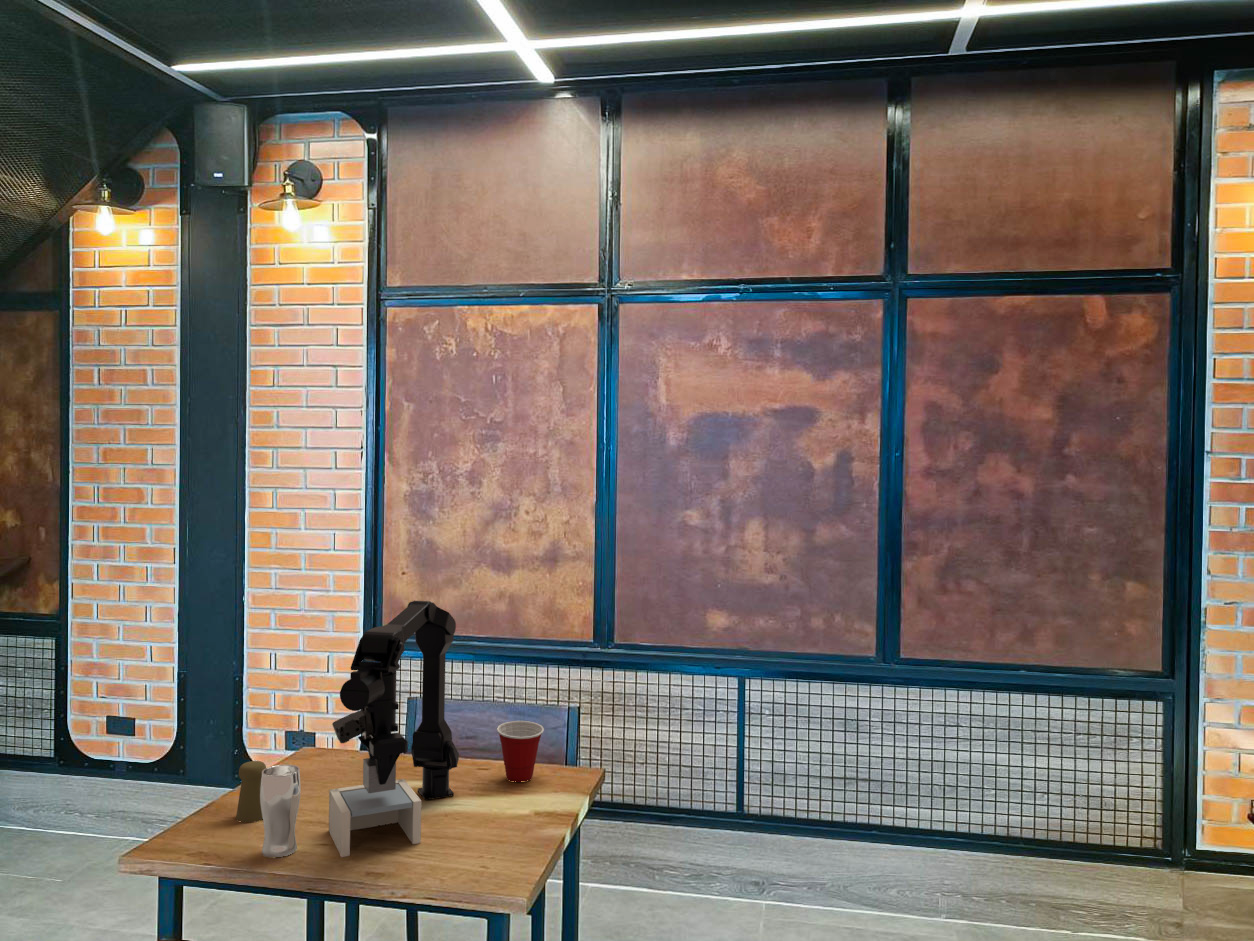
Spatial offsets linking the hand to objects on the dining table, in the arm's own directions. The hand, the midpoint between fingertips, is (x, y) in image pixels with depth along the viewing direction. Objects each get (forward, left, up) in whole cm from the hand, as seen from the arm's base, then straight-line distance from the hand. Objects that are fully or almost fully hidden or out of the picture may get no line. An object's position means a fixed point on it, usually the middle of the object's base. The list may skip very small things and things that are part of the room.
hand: (379, 779), depth 170 cm
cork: (-24, -20, -12) cm, 34 cm away
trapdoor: (-2, 0, -5) cm, 5 cm away
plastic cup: (-22, +37, -12) cm, 45 cm away
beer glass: (-4, -17, -12) cm, 21 cm away
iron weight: (0, 0, -1) cm, 1 cm away
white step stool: (-3, 0, -12) cm, 12 cm away
